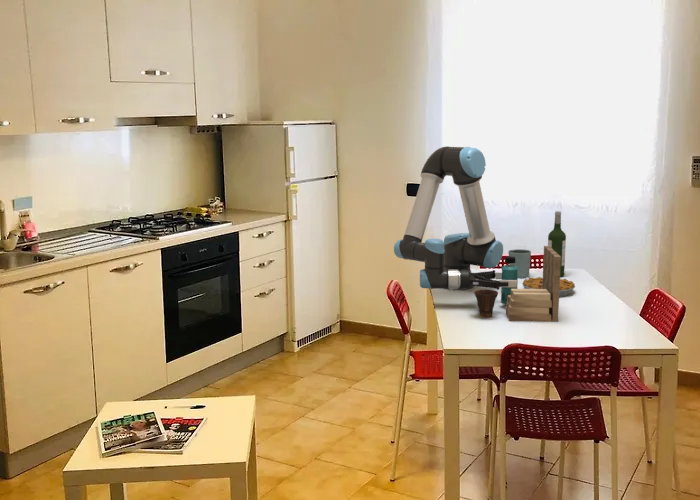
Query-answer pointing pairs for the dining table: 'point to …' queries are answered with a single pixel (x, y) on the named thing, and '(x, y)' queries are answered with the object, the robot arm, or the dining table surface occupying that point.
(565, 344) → the dining table surface
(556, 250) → the wine bottle
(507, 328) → the dining table surface
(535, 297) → the offcut rack
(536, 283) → the pie
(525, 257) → the grey plastic cylinder
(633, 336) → the dining table surface
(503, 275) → the beverage bottle
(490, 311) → the cup
